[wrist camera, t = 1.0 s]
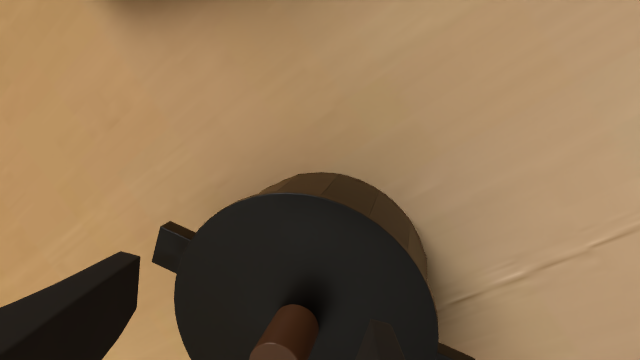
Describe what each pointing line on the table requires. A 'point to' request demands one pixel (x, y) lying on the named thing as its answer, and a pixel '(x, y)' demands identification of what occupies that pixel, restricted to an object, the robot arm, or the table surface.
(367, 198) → the cooker
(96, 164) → the table surface
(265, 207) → the cooker lid
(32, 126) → the table surface
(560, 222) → the table surface
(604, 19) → the table surface
